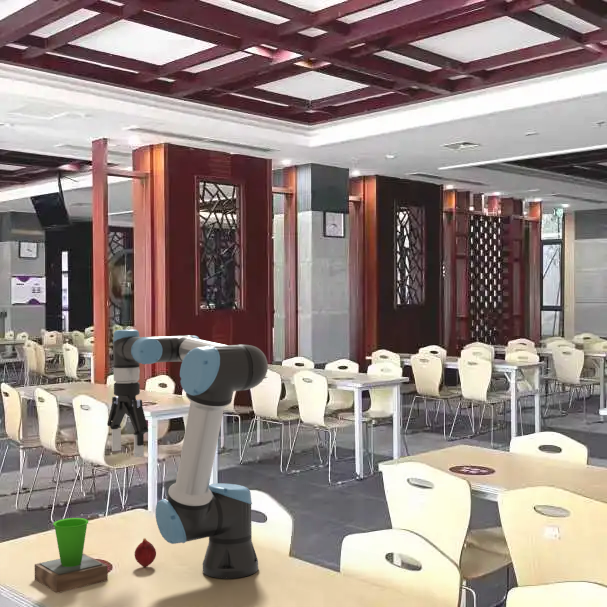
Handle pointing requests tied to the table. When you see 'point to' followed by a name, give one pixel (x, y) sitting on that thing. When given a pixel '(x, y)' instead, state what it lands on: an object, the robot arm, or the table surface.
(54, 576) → the flat stove
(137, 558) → the onion
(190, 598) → the table surface
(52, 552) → the table surface
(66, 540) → the cup
